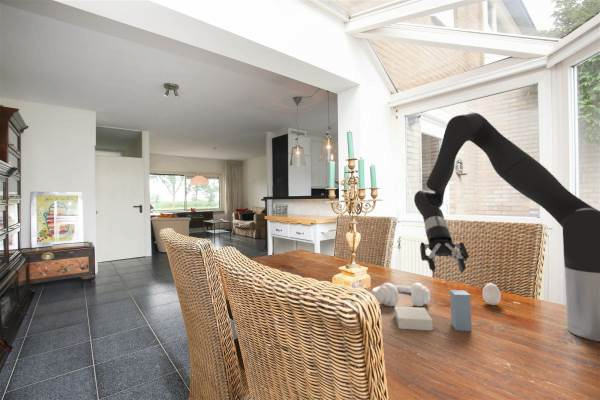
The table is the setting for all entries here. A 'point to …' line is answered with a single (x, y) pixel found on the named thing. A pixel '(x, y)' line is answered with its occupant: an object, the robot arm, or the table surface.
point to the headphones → (390, 292)
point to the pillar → (460, 310)
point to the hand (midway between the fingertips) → (448, 270)
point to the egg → (491, 294)
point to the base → (413, 318)
